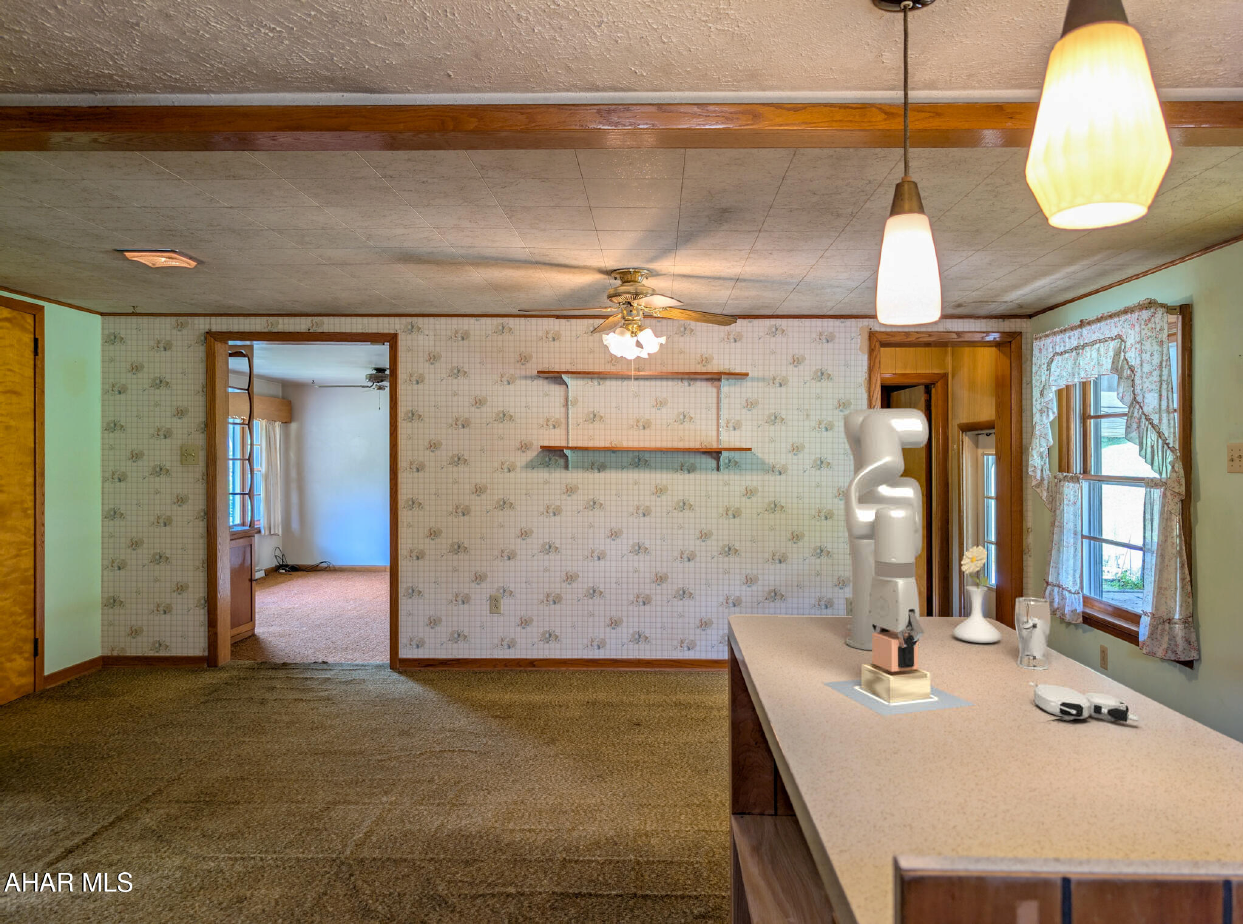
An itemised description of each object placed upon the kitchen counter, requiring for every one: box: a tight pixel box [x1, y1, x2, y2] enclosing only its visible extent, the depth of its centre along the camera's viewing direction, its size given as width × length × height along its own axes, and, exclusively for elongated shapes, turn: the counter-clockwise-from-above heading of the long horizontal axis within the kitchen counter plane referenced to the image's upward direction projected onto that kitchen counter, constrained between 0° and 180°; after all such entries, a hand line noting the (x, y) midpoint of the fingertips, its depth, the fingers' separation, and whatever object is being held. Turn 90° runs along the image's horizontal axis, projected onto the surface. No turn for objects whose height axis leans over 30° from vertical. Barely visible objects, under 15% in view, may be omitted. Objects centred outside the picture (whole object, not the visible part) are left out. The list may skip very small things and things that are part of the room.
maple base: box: [860, 663, 931, 703], centre depth 141 cm, size 9×9×5 cm
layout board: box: [822, 678, 976, 717], centre depth 141 cm, size 20×20×1 cm
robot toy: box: [1029, 682, 1140, 723], centre depth 131 cm, size 12×4×15 cm
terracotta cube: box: [871, 631, 919, 672], centre depth 141 cm, size 6×6×6 cm
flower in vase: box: [952, 545, 1003, 644], centre depth 186 cm, size 13×11×25 cm
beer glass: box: [1014, 596, 1051, 671], centre depth 163 cm, size 7×7×15 cm
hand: (894, 661), depth 141 cm, fingers closed on terracotta cube, 5 cm apart
